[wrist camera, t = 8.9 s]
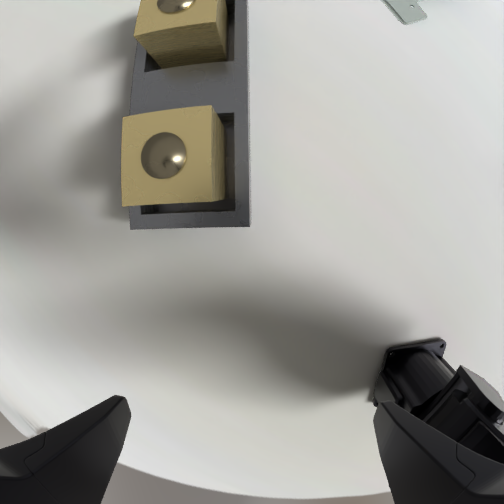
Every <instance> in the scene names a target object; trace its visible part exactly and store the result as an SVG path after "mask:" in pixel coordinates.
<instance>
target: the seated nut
mask: <svg viewBox="0 0 504 504" xmlns="http://www.w3.org/2000/svg"><path fill="white" fill-rule="evenodd" d="M121 191H122V207H123V206H137V205H152V204H170V203H191V202H213V201H218V200H223V199H228V195H227V131H226V129H225V128H224V126H223V124H222V122H221V121H220V119H219V117H218V115H217V114H216V112H215V110H214V109H213V107H212V105H207V106H195V107H186V108H177V109H169V110H162V111H155V112H149V113H143V114H137V115H131V116H126V117H123V120H122V142H121Z"/></svg>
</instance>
